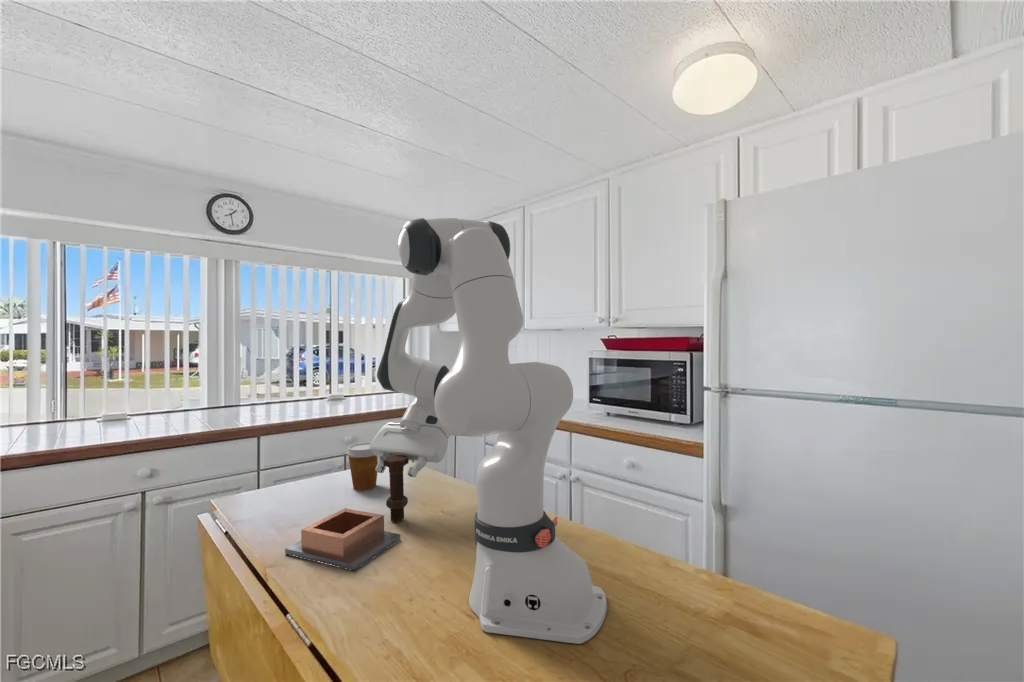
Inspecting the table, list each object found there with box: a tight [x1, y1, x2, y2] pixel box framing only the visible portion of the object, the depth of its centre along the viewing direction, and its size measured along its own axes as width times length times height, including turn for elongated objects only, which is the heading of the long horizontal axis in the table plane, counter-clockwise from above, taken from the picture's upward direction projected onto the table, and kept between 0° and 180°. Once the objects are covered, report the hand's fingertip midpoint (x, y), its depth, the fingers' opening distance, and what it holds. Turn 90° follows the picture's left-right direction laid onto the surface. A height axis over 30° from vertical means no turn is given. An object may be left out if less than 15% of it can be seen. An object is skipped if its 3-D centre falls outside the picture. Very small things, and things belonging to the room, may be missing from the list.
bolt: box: [383, 455, 410, 523], centre depth 108 cm, size 6×5×15 cm
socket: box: [284, 508, 402, 571], centre depth 95 cm, size 18×14×5 cm
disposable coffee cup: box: [346, 442, 378, 492], centre depth 132 cm, size 10×10×12 cm
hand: (394, 473), depth 107 cm, fingers open, 8 cm apart
